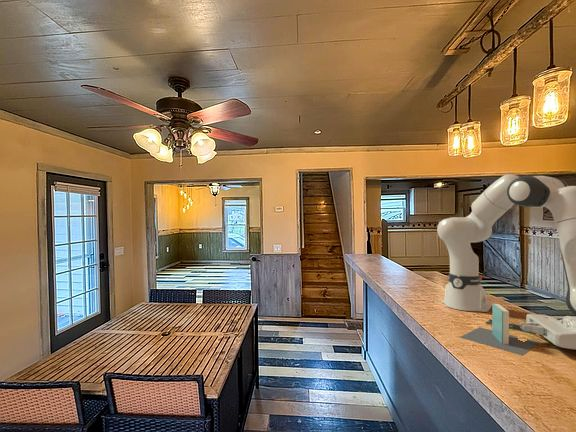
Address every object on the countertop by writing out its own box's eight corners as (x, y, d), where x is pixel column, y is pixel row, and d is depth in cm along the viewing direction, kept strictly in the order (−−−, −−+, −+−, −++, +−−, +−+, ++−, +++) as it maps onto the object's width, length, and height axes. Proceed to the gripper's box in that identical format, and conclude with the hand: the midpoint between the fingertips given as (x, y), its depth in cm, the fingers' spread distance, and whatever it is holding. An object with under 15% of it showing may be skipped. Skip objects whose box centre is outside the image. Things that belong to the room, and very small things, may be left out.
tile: (498, 334, 106) (498, 304, 106) (508, 344, 97) (509, 311, 97) (492, 333, 106) (492, 303, 106) (501, 343, 97) (502, 311, 98)
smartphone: (490, 318, 122) (539, 329, 111) (490, 321, 122) (539, 331, 111) (484, 323, 116) (535, 334, 106) (484, 325, 116) (535, 337, 106)
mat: (479, 328, 113) (479, 327, 113) (539, 343, 99) (539, 342, 99) (459, 338, 103) (459, 337, 103) (522, 357, 89) (522, 355, 89)
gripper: (557, 311, 106) (509, 307, 110) (597, 332, 87) (536, 327, 90) (557, 330, 106) (508, 325, 110) (596, 356, 87) (536, 349, 90)
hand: (521, 326), depth 100 cm, fingers closed
